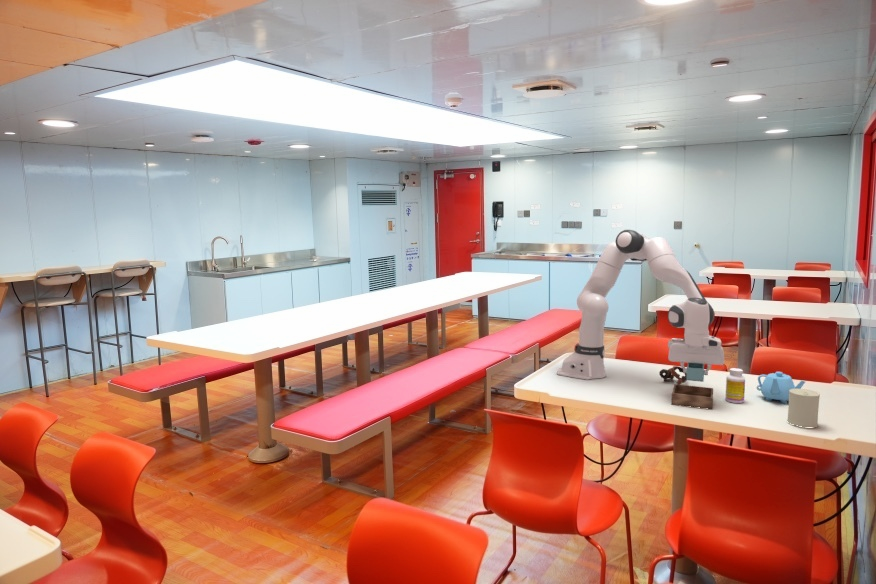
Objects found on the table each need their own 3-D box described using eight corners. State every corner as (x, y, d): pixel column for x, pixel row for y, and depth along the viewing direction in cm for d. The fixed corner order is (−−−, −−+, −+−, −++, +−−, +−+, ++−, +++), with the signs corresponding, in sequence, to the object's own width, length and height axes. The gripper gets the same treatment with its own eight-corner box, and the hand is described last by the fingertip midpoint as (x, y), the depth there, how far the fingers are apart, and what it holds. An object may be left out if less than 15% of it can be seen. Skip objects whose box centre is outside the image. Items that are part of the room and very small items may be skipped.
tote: (703, 381, 222) (703, 369, 221) (686, 380, 224) (686, 367, 224) (703, 375, 231) (704, 363, 230) (687, 373, 233) (688, 361, 233)
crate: (671, 404, 225) (671, 393, 225) (674, 394, 238) (674, 384, 237) (711, 409, 219) (712, 398, 218) (712, 399, 231) (713, 388, 231)
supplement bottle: (745, 404, 224) (747, 372, 223) (726, 402, 227) (727, 370, 225) (742, 399, 231) (744, 368, 229) (724, 397, 233) (725, 366, 231)
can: (789, 426, 200) (792, 393, 198) (784, 418, 208) (786, 386, 207) (820, 429, 197) (823, 395, 195) (814, 421, 205) (816, 388, 204)
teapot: (807, 405, 222) (809, 377, 221) (772, 406, 222) (774, 377, 221) (783, 393, 238) (785, 367, 236) (750, 394, 237) (752, 367, 236)
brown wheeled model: (677, 379, 262) (686, 366, 258) (684, 394, 254) (693, 380, 250) (653, 373, 261) (661, 360, 257) (658, 388, 253) (667, 374, 249)
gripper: (667, 339, 227) (666, 373, 229) (725, 342, 219) (723, 378, 220) (668, 336, 233) (667, 369, 235) (724, 339, 224) (723, 374, 226)
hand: (695, 373), depth 227 cm, fingers closed on tote, 6 cm apart
